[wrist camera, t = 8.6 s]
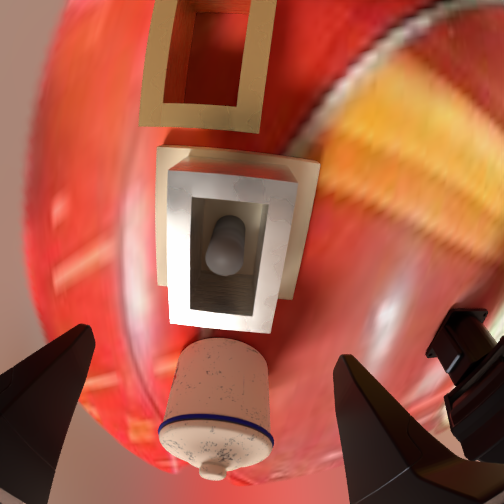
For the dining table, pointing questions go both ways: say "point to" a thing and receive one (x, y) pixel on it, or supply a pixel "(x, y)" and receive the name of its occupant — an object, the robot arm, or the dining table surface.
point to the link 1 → (177, 59)
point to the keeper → (236, 217)
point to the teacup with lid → (218, 408)
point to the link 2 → (191, 236)
